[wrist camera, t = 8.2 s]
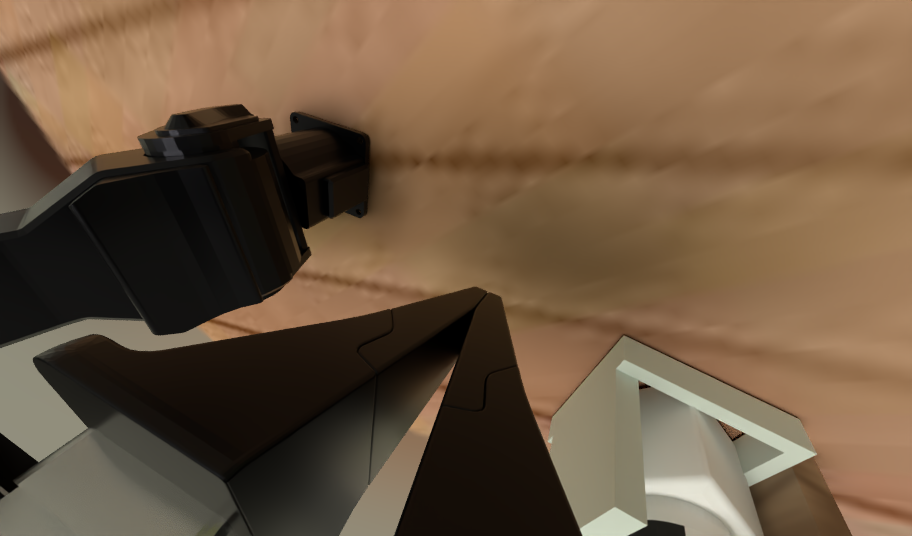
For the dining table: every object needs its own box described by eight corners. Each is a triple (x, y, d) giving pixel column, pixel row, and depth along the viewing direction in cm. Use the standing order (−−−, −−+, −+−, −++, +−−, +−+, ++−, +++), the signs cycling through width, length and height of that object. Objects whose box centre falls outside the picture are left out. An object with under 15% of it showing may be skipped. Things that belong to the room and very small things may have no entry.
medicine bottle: (637, 456, 28) (648, 655, 19) (591, 397, 27) (576, 578, 18) (737, 447, 24) (816, 697, 15) (687, 376, 23) (738, 600, 13)
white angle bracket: (552, 417, 30) (525, 562, 21) (623, 335, 23) (627, 499, 14) (680, 486, 28) (707, 676, 19) (799, 419, 21) (924, 665, 13)
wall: (694, 476, 27) (717, 601, 21) (775, 429, 22) (837, 573, 16) (719, 489, 27) (750, 620, 21) (807, 445, 22) (882, 598, 16)
